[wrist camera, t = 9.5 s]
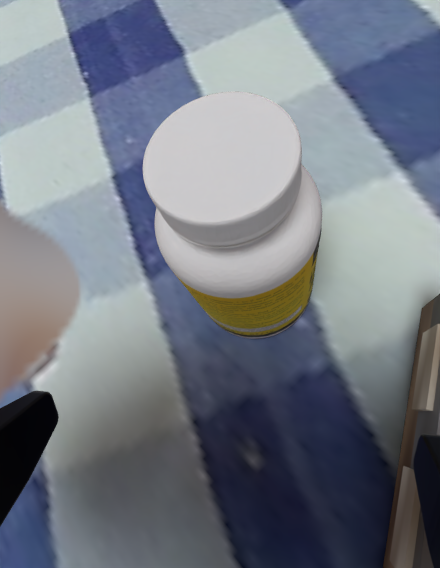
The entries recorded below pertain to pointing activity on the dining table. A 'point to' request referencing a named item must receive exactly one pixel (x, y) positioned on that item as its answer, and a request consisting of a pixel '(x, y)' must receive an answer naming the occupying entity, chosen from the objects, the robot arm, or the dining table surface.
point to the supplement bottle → (236, 210)
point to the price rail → (419, 420)
